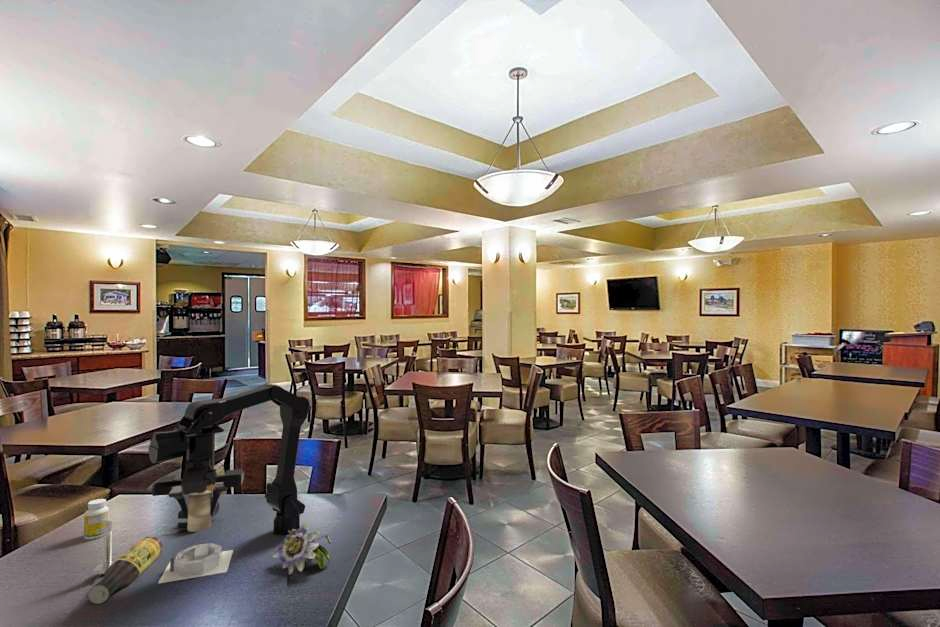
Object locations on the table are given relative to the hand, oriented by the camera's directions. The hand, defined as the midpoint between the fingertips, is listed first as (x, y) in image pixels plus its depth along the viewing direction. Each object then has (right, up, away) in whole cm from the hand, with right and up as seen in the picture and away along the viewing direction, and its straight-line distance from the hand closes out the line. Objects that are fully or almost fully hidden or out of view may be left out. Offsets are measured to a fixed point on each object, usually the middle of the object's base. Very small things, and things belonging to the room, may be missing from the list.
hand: (199, 516), depth 109 cm
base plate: (0, -13, 0) cm, 13 cm away
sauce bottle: (-15, -10, +5) cm, 19 cm away
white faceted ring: (0, -12, 0) cm, 12 cm away
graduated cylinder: (-21, -13, -3) cm, 24 cm away
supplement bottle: (-40, -13, +17) cm, 45 cm away
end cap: (-14, -14, +23) cm, 30 cm away
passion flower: (+25, -14, +2) cm, 28 cm away
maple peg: (0, -3, 0) cm, 2 cm away
